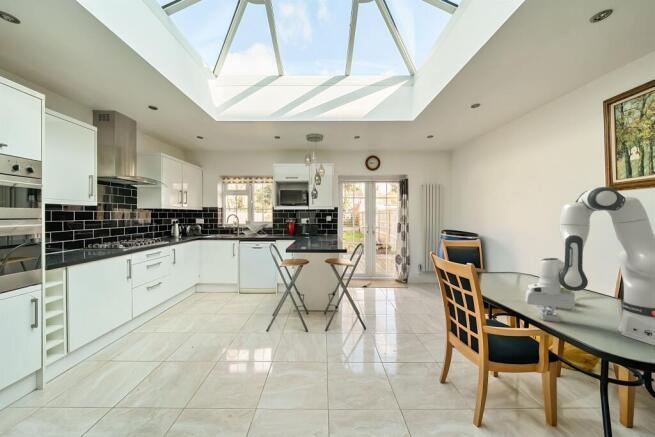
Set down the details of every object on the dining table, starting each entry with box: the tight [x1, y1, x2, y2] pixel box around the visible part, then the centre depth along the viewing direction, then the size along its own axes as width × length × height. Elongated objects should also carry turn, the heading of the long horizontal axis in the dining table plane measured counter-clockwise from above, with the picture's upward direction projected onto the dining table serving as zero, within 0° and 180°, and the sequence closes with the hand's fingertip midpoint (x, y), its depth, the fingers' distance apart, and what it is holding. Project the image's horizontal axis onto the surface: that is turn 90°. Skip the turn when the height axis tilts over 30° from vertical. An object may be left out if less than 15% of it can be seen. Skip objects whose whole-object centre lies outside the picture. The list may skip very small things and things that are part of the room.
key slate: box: [540, 307, 552, 312], centre depth 142 cm, size 4×4×2 cm
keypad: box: [532, 305, 561, 323], centre depth 142 cm, size 17×7×3 cm, turn 156°
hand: (549, 314), depth 138 cm, fingers closed, pressing on key sage
